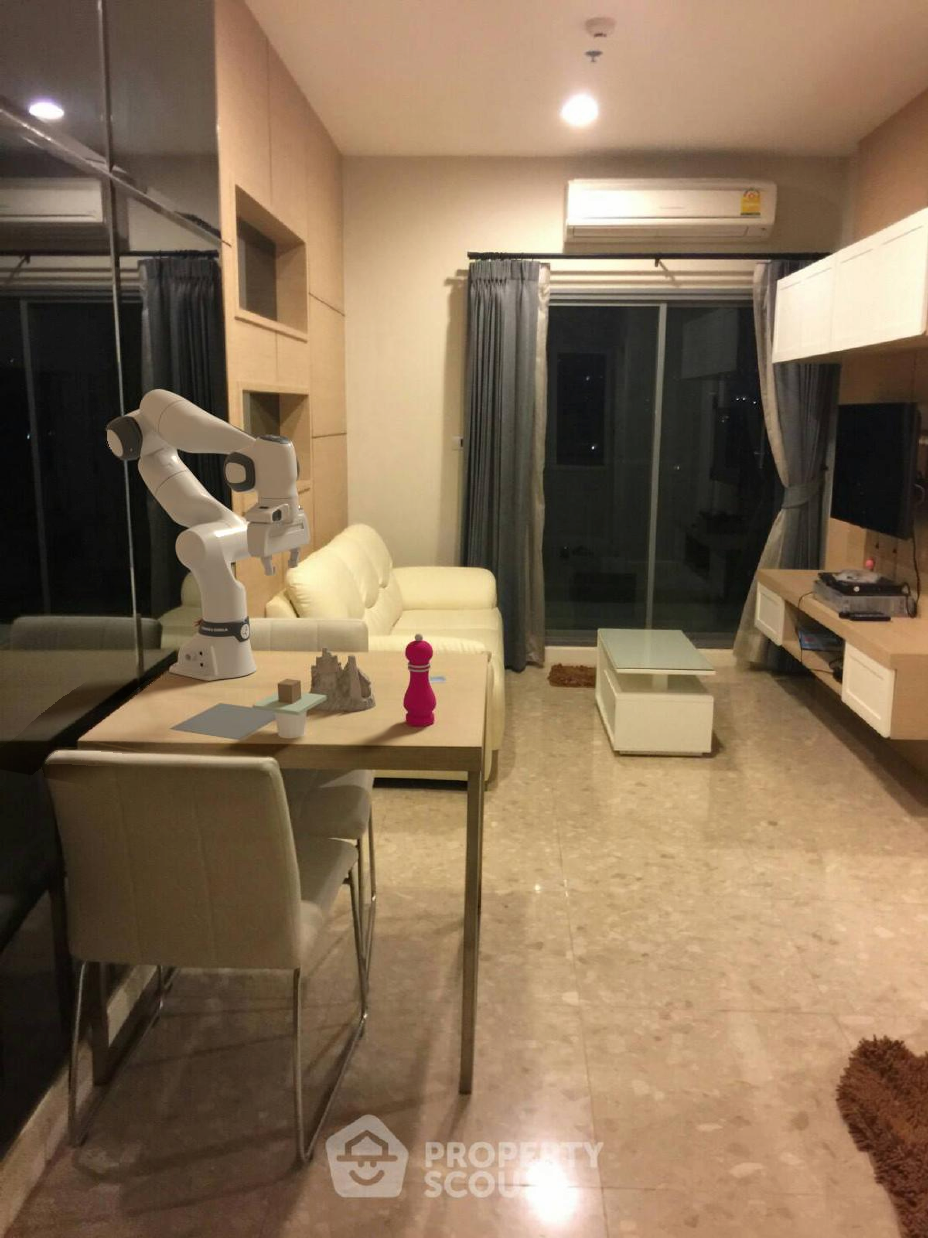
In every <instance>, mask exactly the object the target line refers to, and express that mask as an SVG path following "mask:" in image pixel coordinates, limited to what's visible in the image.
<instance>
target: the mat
mask: <svg viewBox="0 0 928 1238" xmlns="http://www.w3.org/2000/svg"><path fill="white" fill-rule="evenodd" d="M274 721H276V717H275V712H271V711H264V710H257V709H253V706H245V705H238V704H237V705H236V704H232V703H231V704H229V703H224V702H223V703H222V702H219V703H218V704H216V705H213V706H211V707H210V708H208V709H206V710H204V711H201V712H199V713H198V714H195V715H194V716H191V717H189V718H187V719H186V720H183V721H182V722H179V723H178V724H176V725H174V726H171V727H170V728H169V730H175V731H180V732H181V731H182V732H185V733H186V732H187V733H193V734H201V735H206V736H211V737H213V736H214V737H218V738H226V739H232V740H239V741H241V740H244V738H246V737H248V736H249V735H251V734H253V733H255V732H256V731H257V732H258V730H259V729H261V728H263V727H266V726H268V724H270V723H272V722H274Z"/></svg>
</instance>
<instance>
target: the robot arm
mask: <svg viewBox="0 0 928 1238" xmlns="http://www.w3.org/2000/svg"><path fill="white" fill-rule="evenodd" d="M106 427H107V428H106ZM106 427H105V431H107V441H108V444H109V446H108V448H109V447H110V448H109V449H111V450H112V451H111V450H110V451H111V453H112V452H113V453H112V454H113V455H114V456H115V457H116V458H118V459H120V460H121V461H126V462H127V461H132V460H133V461H134V460H138V459H139V460H138V463H137V468H138V471H139V474H140V475H141V478H142V480H143V481H144V483H145V485H146V486H147V488H148V490H149V491H150V493H151V494H152V495H153V497H154V498H155V499H156V500H157V502H158V503H159V504H160V505H161V507H162V508H163V510H165V511H166V513H167V514H168V515H169V516H170V518H171V520H173V522H175V523H177V524H179V525H180V526H183V527H186V528H187V529H186V530H184V531H182V532H180V534H178V536H177V538H176V541H175V552H176V556H177V558H178V560H179V561H180V562H181V564H182V565H183V566H185V568H188V570H190V571H191V573H192V574H193V577H194V578H195V580H196V583H197V585H198V590H199V594H200V602H201V609H202V617H201V618H200V619H199V620H197V621H195V622H194V624H195V625H194V627H198V629H197V632H196V633H195V634H194V635H193V636H192V637H191V638H189V639H188V640H187V641H186V642H184V643H183V644H182V645H181V646H180V648H179V651H178V656H177V662H175V663H174V664H172V665H170V667H169V673H172V674H176V675H179V676H184V677H189V678H193V679H197V680H201V681H202V680H203V681H206V682H208V681H209V682H210V681H216V680H222V679H232V678H233V679H234V678H239V677H243V676H244V677H245V676H247V675H251V674H253V673H254V672H256V671H257V669H258V667H257V665H256V662H255V658H254V655H253V650H252V646H251V640H250V635H251V626H250V625H251V624H250V616H248V607H247V606H248V605H247V590H246V587H245V586H244V584H243V583H242V582H241V581H239V580H238V579H236V577H235V576H234V573H233V569H232V567H231V564H232V563H236V562H239V561H244V560H246V559H248V558H250V557H251V558H260V561H261V564H262V566H263V568H264V575H265V576H270V577H271V576H273V575H276V566H273V563H272V560H273V556H274V555H277V554H281V553H284V552H290V555H289V559H288V560H287V567H288V568H289V569H295V568H297V567H298V566H299V558H300V555H301V547H306V546H308V545H309V543H310V541H311V536H310V535H311V534H310V526H309V525H310V524H309V520H308V516H307V515H306V512H305V509H304V508H303V507H302V506H301V505H299V501H300V500H299V493H298V489H297V481H298V479H299V476H300V472H301V471H300V469H301V467H300V463H299V460H298V458H297V456H296V450H295V447H294V446H295V445H294V444H293V441H292V440H291V439H290V438H289V437H287V436H284V435H280V434H277V435H276V434H261V435H259V436H258V437H256V436H254V435H252V434H251V433H248V432H247V431H246V430H243V429H241V428H239V427H237V426H235V425H232V424H230V423H229V422H226V421H225V420H223V419H221V418H219V417H217V416H214V415H213V414H210V413H209V412H207V411H205V410H203V409H202V408H200V407H199V406H198V405H196V404H194V403H192V402H191V401H190V400H188V399H186V398H184V397H183V396H181V395H179V394H177V393H174V392H171V391H168V390H165V389H163V388H162V389H161V388H158V389H157V388H155V389H152V390H150V391H149V392H147V393H146V394H145V395H144V396H143V397H142V400H140V404H139V408H138V409H136V410H133V411H131V412H128V413H127V414H125V415H123V416H118V417H115V419H113V420H112V421H110V422H109V423H108V424H107V425H106ZM108 444H107V445H108ZM178 450H180V451H183V452H185V453H191V454H223V455H227V457H226V459H225V460H224V465H223V476H224V479H225V482H226V483H227V485H228V487H229V488H230V489H231V490H232V491H233V492H235V493H241V494H252V493H257V502H255V504H254V505H253V506H252V507H251V508H249V509H248V510H246V511H245V515H244V516H245V517H242V516H240V515H238V514H237V513H235V512H233V511H232V510H231V509H229V508H228V507H226V506H225V505H224V504H222V502H220V501H218V500H217V499H216V498H215V497H214V496H212V495H211V494H210V493H209V491H207V489H206V487H204V486H203V485H202V483H201V482H200V481H199V480H198V479H197V477H196V476H195V475H194V474H193V473H192V471H191V470H190V469H189V467H187V466H186V465H185V463H184V462H183V461H182V460H181V458H180V457H179V455H178V453H179V452H178Z"/></svg>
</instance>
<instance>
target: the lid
mask: <svg viewBox="0 0 928 1238" xmlns="http://www.w3.org/2000/svg"><path fill="white" fill-rule="evenodd" d="M301 681H302V680H299V679H293V678H292V679H291V678H285V679H284V680H281V681H280V682H277V692H275V693H273V694H271V695H269V696H267V697H265V698H263V699H261V700H259V701H258V702H256V703H254V704H252V707H253V709H257V710H264V711H271V712H278V713H285V714H292V715H298V716H299V715H300V714H302V713H304V712H306V713H307V711H308V710H311V709H312V708H313V707H314V706H316V705H317V704H319V703H321V702H323V701H324V700H326V699H327V697H326V695H319V694H311V693H309V692H305V691H302V685H301V683H302V682H301Z"/></svg>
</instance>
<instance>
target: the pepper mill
mask: <svg viewBox="0 0 928 1238" xmlns="http://www.w3.org/2000/svg"><path fill="white" fill-rule="evenodd" d="M404 655H405V658H406V660H408V662H407V670H408V671H409V681H408V686H407V689H406V691H405V693H404V696H403V703H402V704H403V705H402V706H403V708H404V710H406V712H407V713H406V714H405V723H406V724H407V725H408V726H411V727H416V728H417V727H418V728H419V727H421V728H422V727H423V728H425V727H428V726H431V725H433V724H434V723H435V713H434V712H433V711H435V709H436V707H437V698H436V695H435V692H434V691H433V688H432V686H431V682H430V675H429V672H430V670H431V669H432V667H431V664H432V663H431V661H430V660H432V658H433V656H434V651H433V646H432V645H431V644H430V643H429V642H428V641H426V640H424V636H423V634H421V633H415V635H414V640H412V641H410V642H409V643H408V644H407V645H406V647H405V651H404Z"/></svg>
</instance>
